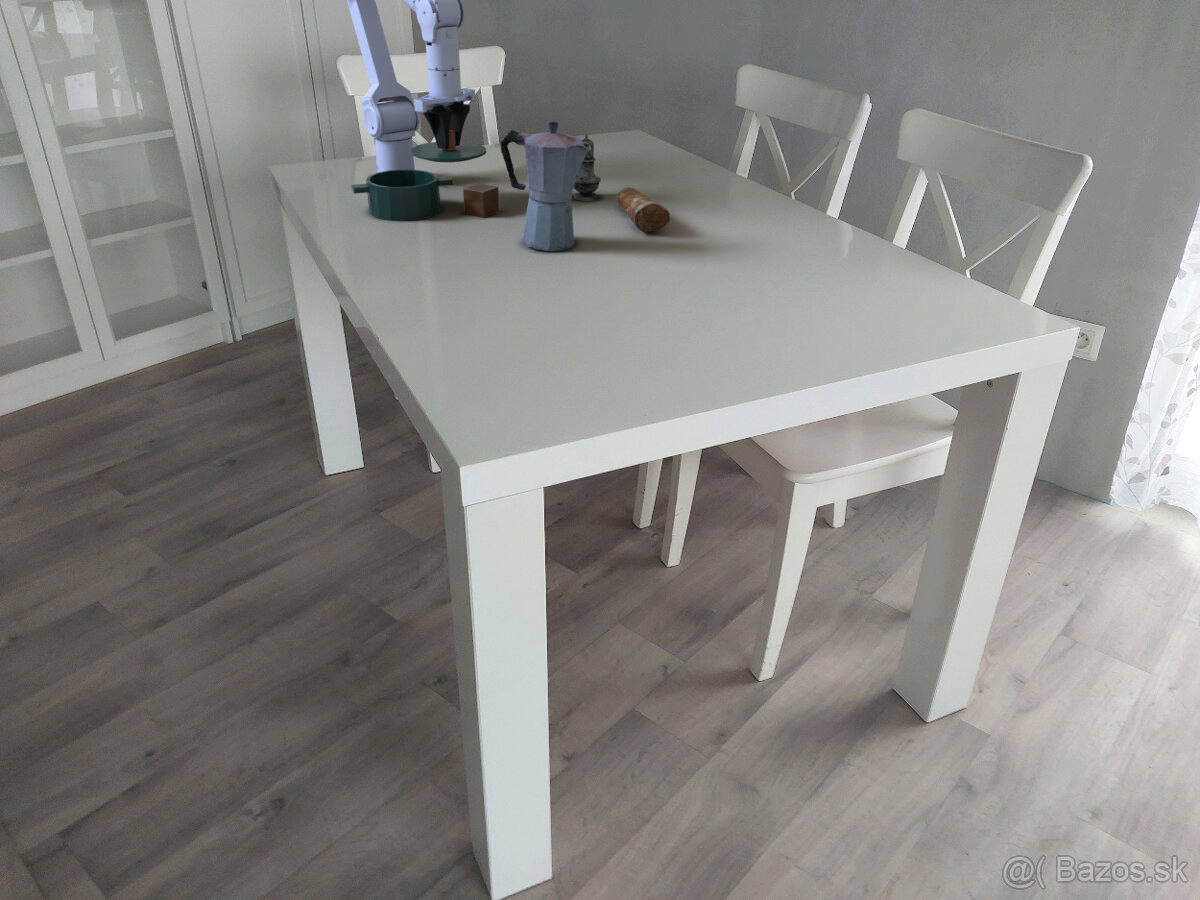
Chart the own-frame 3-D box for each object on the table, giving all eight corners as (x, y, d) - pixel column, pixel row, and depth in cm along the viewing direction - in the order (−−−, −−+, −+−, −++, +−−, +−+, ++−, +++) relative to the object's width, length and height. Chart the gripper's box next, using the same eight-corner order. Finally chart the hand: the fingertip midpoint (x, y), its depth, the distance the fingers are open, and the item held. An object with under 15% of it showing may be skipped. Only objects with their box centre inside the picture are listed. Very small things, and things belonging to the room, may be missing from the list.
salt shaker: (600, 201, 181) (601, 138, 175) (569, 201, 181) (570, 137, 175) (600, 193, 186) (602, 131, 180) (571, 192, 186) (571, 130, 180)
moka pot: (584, 256, 153) (585, 130, 143) (494, 249, 156) (489, 124, 146) (596, 238, 161) (598, 118, 151) (510, 231, 164) (506, 112, 154)
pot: (349, 205, 176) (345, 173, 172) (444, 196, 182) (442, 166, 179) (362, 225, 165) (358, 191, 162) (462, 215, 172) (460, 182, 169)
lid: (404, 149, 177) (402, 125, 175) (474, 144, 182) (473, 121, 180) (421, 167, 166) (419, 141, 164) (495, 161, 171) (494, 136, 169)
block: (464, 213, 173) (462, 188, 170) (479, 207, 176) (478, 182, 174) (484, 217, 171) (482, 192, 168) (499, 211, 174) (498, 186, 172)
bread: (635, 237, 162) (636, 205, 160) (612, 206, 178) (613, 176, 176) (670, 235, 164) (672, 203, 161) (644, 204, 180) (645, 175, 177)
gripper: (433, 76, 159) (439, 157, 166) (486, 65, 170) (490, 142, 177) (402, 71, 162) (409, 151, 169) (456, 61, 173) (461, 137, 180)
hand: (448, 146), depth 173 cm, fingers closed on lid, 2 cm apart
